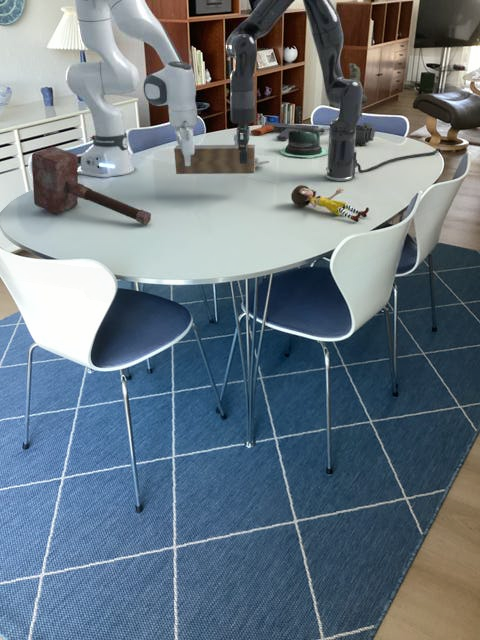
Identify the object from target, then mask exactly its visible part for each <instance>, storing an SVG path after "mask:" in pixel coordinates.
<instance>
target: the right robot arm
mask: <svg viewBox="0 0 480 640" xmlns="http://www.w3.org/2000/svg"><path fill="white" fill-rule="evenodd" d="M295 1H296V0H261V1H260V2H259V3H258V4H257V5H256V7H255V8H254V9H253V11H252V12H251V13H250V15H249V16H248V17H247V18H246V19H244V20H243V22H241V23H240V24H239V25H238V26H237V27H236V28H234V30H233V31H232V32H231V33H230V35H229V36H228V38H227V40H226V43H225V51H226V53H227V55H228V56H229V58H232V59H235V62H234V69H233V70H231V72H230V76H229V77H230V80H229V81H230V96H229V102H230V103H229V105H230V121H231V123H233V124H238V126H237V127H236V133H237V143H238V150H239V152H240V163H241V164H246V163H247V145H249V142H250V133H251V130H250V129H251V128H250V126H249V124H251V123H254V122H255V121H256V113H255V112H256V101H255V100H256V98H255V85H254V84H255V83H254V79H255V78H254V73H255V69H256V64H257V57H258V46H257V40H258V39H261V38H262V37H265V36H266V35H267V34H268V33H269V32H270V31H271V30H272V28H273V27H274V26H275V25H276V23H277V22H278V21H279V20H280V18H281V17H282V16H283V15H284V14H285V12H286V11H287V10H288V9H289V7H290V6H291V5H292V4H293V3H294V2H295ZM302 3H303V6H304V10H305V14H306V16H307V17H306V18H307V21H308V23H309V29H310V32H311V35H312V39H313V43H314V46H315V49H316V53H317V56H318V60H319V64H320V68H321V73H322V79H323V84H324V90H325V96H326V99H327V102H328V103H329V105H330V106H332V107H334V108H337V109H339V113H338V116H337V117H336V118H332V119H331V120H330V121H329V132H328V146H327V147H328V148H327V166H325V171H326V176H325V177H326V179H328V180H330V181H333V182H348V181H351V180H353V179H354V178H355V175H356V168H357V171H358V172H359V173H367V172H370V171H373V170H376V169H379V168H380V167H381V166H384V165H387V164H389V163H392V162H396V161H401V160H405V159H411V158H417V157H424V156H432V155H435V154H436V153H437V152H439V153H441V152H442V149H441V148H440V147H437V148H436V149H435V150H433V151H431V152H423V153H415V154H409V155H402V156H398V157H394V158H390V159H387V160H385V161H381V162H380V163H378V164H376V165H374V166H371V167H368V168H365V169H362V166H361V164H360V163H359V162H358V160H357V150H355V148H356V144H355V138H356V127H357V124H358V123H359V121H360V118H361V116H360V110H361V103H362V87H363V86H362V87H361V85H360V83H359V82H357V81H355V80H350V78H345V76H344V74H343V71H342V67H341V54H342V51H343V46H344V32H343V28H342V22H341V18H340V16H339V13H338V12H337V10H336V8H335V6H334V4H333V3H332V2H331V0H302ZM241 145H245V147H241Z"/></svg>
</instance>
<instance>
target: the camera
mask: <svg viewBox="0 0 480 640" xmlns="http://www.w3.org/2000/svg"><path fill="white" fill-rule="evenodd" d="M233 141H234V145H238V143H237V132H236V133H234V134H233ZM269 163H270V160H264V161H259V157H256V156H255V168H257V167H259V166H262V165H265V164H269Z"/></svg>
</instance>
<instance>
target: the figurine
mask: <svg viewBox="0 0 480 640" xmlns="http://www.w3.org/2000/svg"><path fill="white" fill-rule="evenodd" d="M342 192H344V188H342V187H340V188H339V189H336V191H335V193H333V194H332V195H331V196H329V197H324V196H321V195H318V196H316V195H317V193H318V192H317V191H316V190H314V189H310V188H309V187H308V186H307V185H304V184H300V185H298V186H296V187H295V188H294V189H293V190H292V192H291V195H290V198H291V201H292V203H293V204H294V206H297V207H306V206H309V205H312V207H313V208H316V207H317V206H318V207H321V208H322V207H323V208H326V209H327V210H328V211H330V212H332V213H333V214H335V215H337V216H340V214H341V215H342V216H344V217H345V218H348V219H350V220H352V221H353V222H356V223H358V222H359V221H360V219H359V218H360V217H362V218H367V214H368V212H369V211H370V207H366V208H365V210H358V209H356V208H354V207H353V206H351V205H349V204H347V202H344V201H338V200H332V199H333V198H335V197H336V196H337V195H340V194H341V193H342ZM346 210H348V211H349V212H350V213H353V215H351V214H350V213H348V212H347V211H346ZM354 214H356V215H354Z"/></svg>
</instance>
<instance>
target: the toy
mask: <svg viewBox="0 0 480 640" xmlns="http://www.w3.org/2000/svg"><path fill="white" fill-rule="evenodd" d="M375 133H376V129H375V127H374V126H372V123H370V122H363V124H358V125H357V127H356V138H355V145H358V146H359V145H360V146H366V144H367V143H369V142H373V140H374V138H375Z"/></svg>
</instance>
